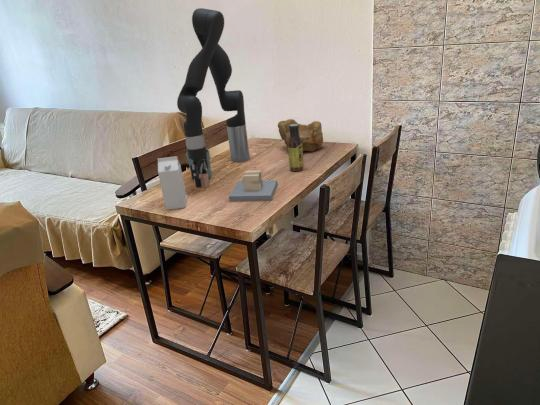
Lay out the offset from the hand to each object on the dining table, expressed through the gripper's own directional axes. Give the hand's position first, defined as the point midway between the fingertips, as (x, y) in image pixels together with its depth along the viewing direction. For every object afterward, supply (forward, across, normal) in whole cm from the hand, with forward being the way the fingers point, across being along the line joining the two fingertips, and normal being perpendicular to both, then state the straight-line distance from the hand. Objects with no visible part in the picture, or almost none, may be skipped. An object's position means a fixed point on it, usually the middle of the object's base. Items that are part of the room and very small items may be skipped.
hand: (202, 183), depth 168 cm
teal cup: (+2, +11, +4) cm, 12 cm away
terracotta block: (+2, 0, 0) cm, 2 cm away
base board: (+2, -8, -24) cm, 25 cm away
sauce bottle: (+2, +18, -38) cm, 42 cm away
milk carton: (+2, -19, +4) cm, 19 cm away
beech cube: (0, -8, -24) cm, 25 cm away
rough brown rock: (+1, +47, -36) cm, 59 cm away
